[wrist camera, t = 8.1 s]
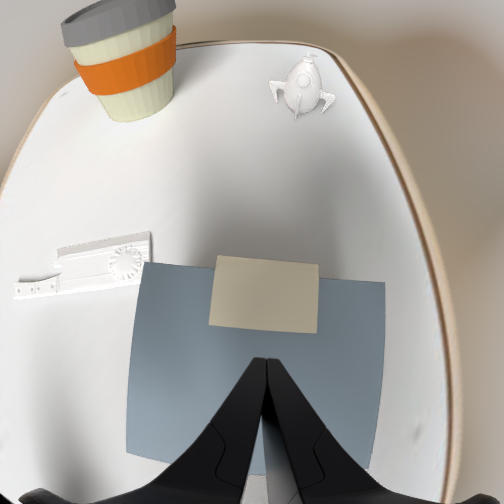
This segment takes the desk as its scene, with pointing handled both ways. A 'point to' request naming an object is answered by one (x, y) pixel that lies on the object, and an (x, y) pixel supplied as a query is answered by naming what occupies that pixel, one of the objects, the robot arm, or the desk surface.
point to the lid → (252, 349)
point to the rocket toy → (302, 87)
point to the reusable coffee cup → (125, 54)
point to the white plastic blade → (93, 267)
